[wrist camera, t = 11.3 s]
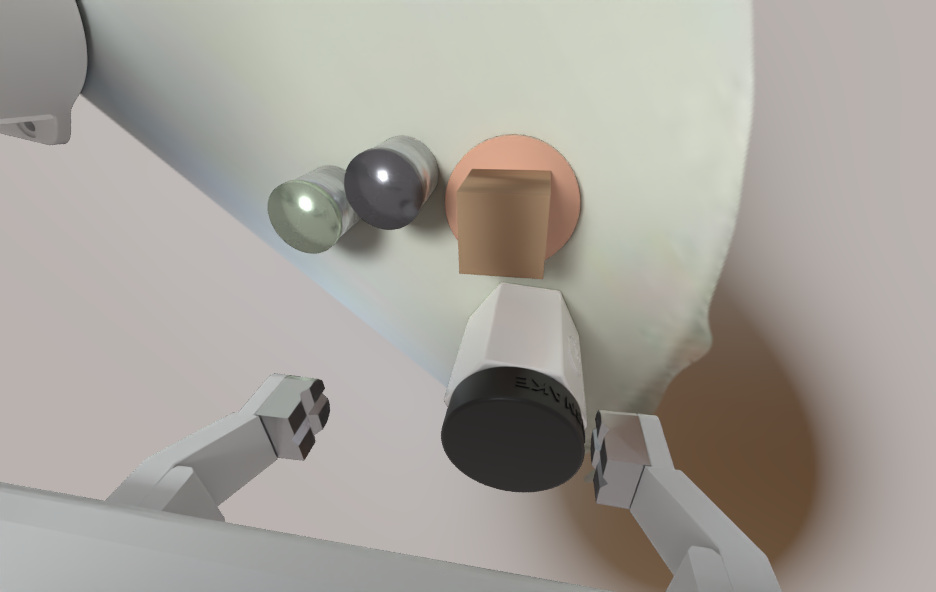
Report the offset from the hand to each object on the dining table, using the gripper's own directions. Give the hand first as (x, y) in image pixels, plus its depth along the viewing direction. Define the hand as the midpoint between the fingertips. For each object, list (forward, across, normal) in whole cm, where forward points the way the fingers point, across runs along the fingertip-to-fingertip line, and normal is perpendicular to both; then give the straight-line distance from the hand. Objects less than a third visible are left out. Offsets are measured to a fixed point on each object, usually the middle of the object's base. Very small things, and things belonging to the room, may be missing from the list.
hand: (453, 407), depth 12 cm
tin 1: (+19, +13, 0) cm, 23 cm away
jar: (+19, -2, +10) cm, 21 cm away
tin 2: (+19, +7, -2) cm, 20 cm away
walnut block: (+18, 0, 0) cm, 18 cm away
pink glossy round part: (+18, 0, 0) cm, 19 cm away
